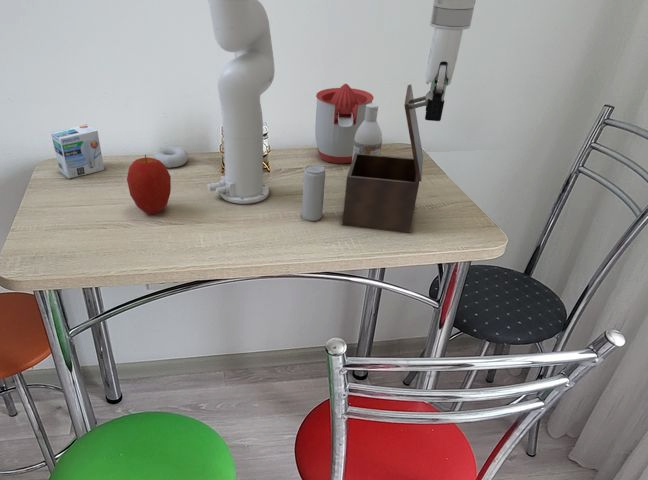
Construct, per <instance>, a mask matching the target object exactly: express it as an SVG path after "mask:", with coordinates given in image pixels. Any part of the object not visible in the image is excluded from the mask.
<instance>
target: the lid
mask: <svg viewBox="0 0 648 480" xmlns="http://www.w3.org/2000/svg"><path fill="white" fill-rule="evenodd" d="M406 87H407V88H406V94H405V99H404V104H403V105H404V111H405V118H406V122H407V129H408V133H409V134H408V135H409V140H410V141H409V142H410V145H411V152H412V158H414V164H415V170H416V176H417V181H418V182H419V183H420V182H422V177H423V163H424V162H423V161H424V154H423V148H422V142H421V136H420V129H419V123H418V115H417V110H416V109H418V108H422V107H425V108H426V107H427V104H428V99H430V95H431V92H429V91H428V92H427V93H426V94H425V95H424V96H420V97H417V98H414V91H413V86H412V84H407V86H406Z"/></svg>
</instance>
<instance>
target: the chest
mask: <svg viewBox="0 0 648 480" xmlns="http://www.w3.org/2000/svg"><path fill="white" fill-rule="evenodd" d="M346 175H347V176H346V181H345V182H346V183H345V194H344V201H343V202H344V205H343V212H342V213H343V214H342V224H341V225H342V226H344V227H355V228H364V229H371V230H379V231H389V232H397V233H405V234H411V230H412V225H413V224H412V223H413V220H414V219H413V218H414V214H415V208H416V203H417V202H416V201H417V197H418V193H419V188H420V182H418V181H417V176H416V170H415V164H414V158H413V157H403V156H393V155H392V156H391V155H381V154H380V155H371V154H360V153H355V154H354V157H353V160H352V163H351V164H350V167H349V169H348V172H347V174H346Z"/></svg>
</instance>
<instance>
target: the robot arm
mask: <svg viewBox="0 0 648 480" xmlns="http://www.w3.org/2000/svg"><path fill="white" fill-rule="evenodd" d="M207 1H208V6H209V12H210V19H211V25H212V31H213V35H214V39H215V41H216V43H217V45H219V46H218V47H219V48H221V49H222V50H224V52H229V53H234V58H233V59H231V60H230V61H228V62H227V63H226V64H225V65H224V67H223V68H222V69H221V71H220V73H219V77H218V79H217V92H218V93H217V94H218V98H219V103H220V108H221V109H220V110H221V120H222V134H223V135H222V136H223V155H224V156H223V158H224V159H223V160H224V175H221V179H219V180H218V182H211V183H207V184H206V189H207V191H208V192H215V193H216V194H217V195H219V196H220V198H222V199H223V200H224V201H227V202H230V203H233V204H241V205H248V204H255V203H259V202H262V201H264V200H265V199H267V198H268V197H269V196H270V188H269V186H268V185H267V184H266V183H264V120H263V111H262V104H261V96H262V95H263V94H264V93H265V92H266V91H267V90H268V89H269V88H270V87H271V86H272V84H273V82H274V78H275V59H274V58H275V57H274V51H273V43H272V42H273V41H272V35H271V27H270V21H269V16H268V14H267V11H266V9H265V7H264V5H263V4H262V3H261V1H259V0H207ZM475 5H476V0H433V6H432V10H431V16H430V23H429V26H430V27H432V28H434V30H433V34H432V39H431V44H430V50H429V55H428V61H427V66H426V67H427V68H426V72H425V84H426V85H429V83H430V89H429V91H428V92H431V95H430V99H428V104H427V107H426V106H425V115H424V120H425V121H429V122H430V121H432V122H440V121H441V120H442V116H443V110H444V106H445V96H446V90H447V86H449V85H451V83H452V79H453V75H454V73H455V68H456V64H457V60H458V56H459V51H460V46H461V42H462V37H463V31H464V30H468V29H470V28H471V26H472V19H473V14H474V11H475Z"/></svg>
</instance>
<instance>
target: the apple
mask: <svg viewBox="0 0 648 480" xmlns="http://www.w3.org/2000/svg"><path fill="white" fill-rule="evenodd" d="M171 177H172V176H171V175H170V172H169V169H168V167H166V166H165V165H164V164H163V163H162V162H160V161H159V160H157V159H154V158H153V157H147V154H146V153H145V154H144V157H140V158H137V159H135V160H134V161H132V163H131V164H130V165H129V167H128V171H127V175H126V182H127V183H126V184H127V187H128V192H129V195H130V197H131V199H132V200H133V202H134V204H135V205H136V207H137V208H138V209H139V210H140V211H143V212H144V213H146V214H147V215H156V214H158V213H160V212H161V211H162V210H163V209H165V208H166V207H167V206H168V202H169V199H170V196H171V191H172V184H171V182H172V181H171Z"/></svg>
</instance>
